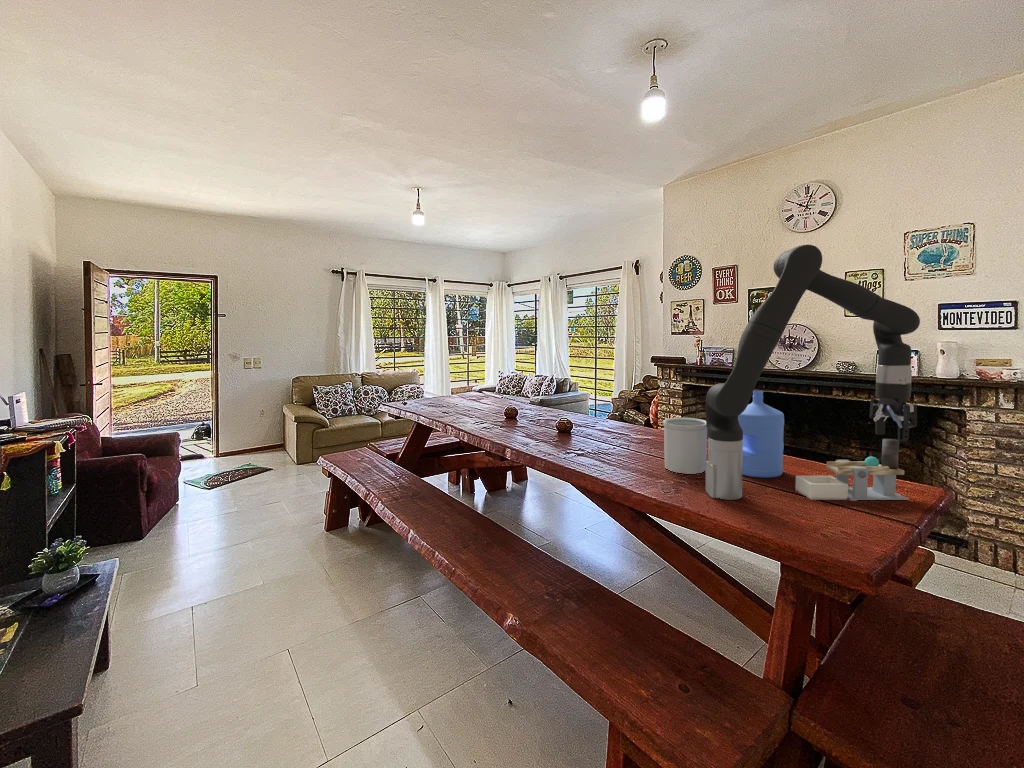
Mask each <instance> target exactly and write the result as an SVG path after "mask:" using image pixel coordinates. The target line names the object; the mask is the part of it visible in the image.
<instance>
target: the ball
mask: <svg viewBox="0 0 1024 768" xmlns="http://www.w3.org/2000/svg"><path fill="white" fill-rule="evenodd" d="M864 461H865V464H866V465H867V466H878V465H879V464H880V460H879V459H878V458H877V457H875V456H871V455H870V456H868V457H866V458H865V459H864Z"/></svg>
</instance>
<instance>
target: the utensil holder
mask: <svg viewBox="0 0 1024 768" xmlns="http://www.w3.org/2000/svg"><path fill="white" fill-rule="evenodd" d="M662 422H663V423H662V424H663V437H664V438H663V439H664V441H663V442H664V445H663V449H664V451H663V452H664V469H665V468H666V469H668V470H670V471H673V472H678V473H685V474H686V473H687V474H696V473H702V472H704V471H705V472H706V461H707V458H708V429H707V426H706V419H700V418H694V417H672V418H671V417H670V418H665V419H664V420H663V421H662ZM666 469H665V470H666ZM668 470H667V471H668ZM670 471H669V472H670ZM673 472H672V473H673ZM705 472H704V473H705ZM702 474H703V473H702Z"/></svg>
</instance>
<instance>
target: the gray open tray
mask: <svg viewBox="0 0 1024 768" xmlns="http://www.w3.org/2000/svg"><path fill="white" fill-rule="evenodd" d="M848 487H849V484H846V483H844V482H842V481H840V480H838V479H836V478H835V476H833V475H795V492H797V491H798V492H797V493H799V494H800V495H803V496H804V497H805V496H806V498H807V499H809V500H810V501H813V500H815V501H817V500H818V501H821V500H822V501H825V500H826V501H831V500H832V501H833V500H834V501H835V500H836V501H840V500H843V501H847V500H848Z"/></svg>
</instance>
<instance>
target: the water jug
mask: <svg viewBox="0 0 1024 768" xmlns="http://www.w3.org/2000/svg"><path fill="white" fill-rule="evenodd" d="M738 421H739V424H740V426H741V428H742V430H743V468H742V476H745V477H750V478H751V477H752V478H758V479H759V478H761V479H762V478H763V479H764V478H765V479H767V478H768V479H769V478H770V479H771V478H777V477H780V476H782V474H783V473H784V465H783V463H784V461H783V460H784V459H783V458H784V448H785V447H784V427H785V415H784V413H783V412H782V411H781V410H779V409H776V408H774V407H772V406H770V405H768V404H766V403H764V391H762V390H754V391H753V393H752V402H751V403H748V406H747V407H746V409H745V410H744V412H743V413H741V414H740V415H738Z"/></svg>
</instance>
